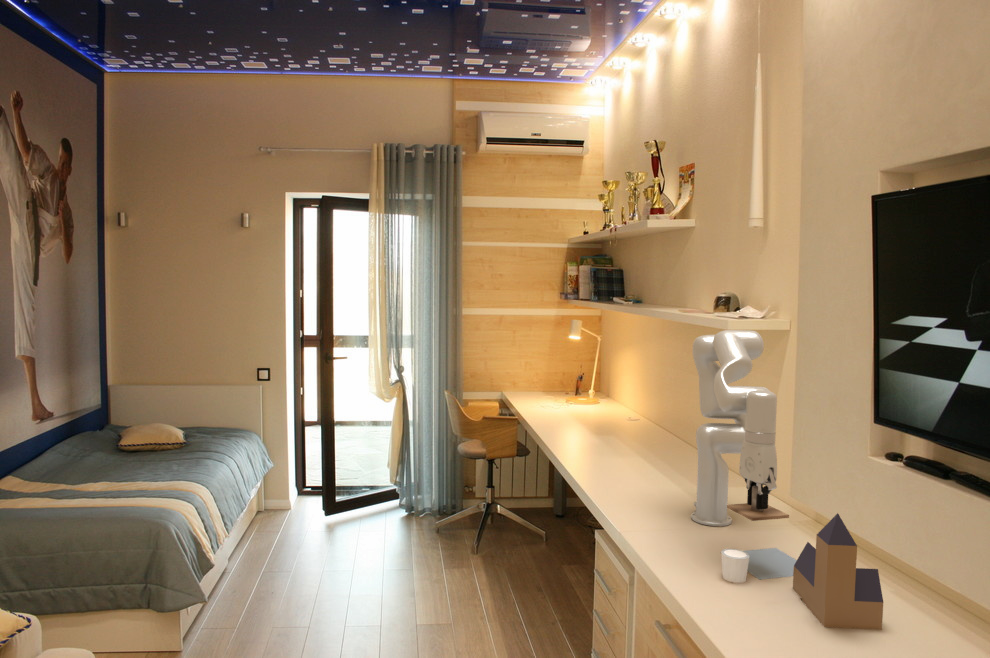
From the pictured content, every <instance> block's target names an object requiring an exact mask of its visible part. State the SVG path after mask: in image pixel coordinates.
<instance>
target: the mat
mask: <svg viewBox="0 0 990 658" xmlns="http://www.w3.org/2000/svg"><path fill="white" fill-rule="evenodd" d="M744 551H745V552H746V553H748V554H749V563H748V570H747V573H749V574H751V575H752V576H753V577H755V578H756V579H758V580H768V579H769V580H770V579H781V578H791V577H793V572H794V564H795V563H796V561H797V559H796V558H794V557H793V556H790V555H789V554H787V553H785V552H784V551H782V550H780V549H779V548H777V547H770V548H758V549H748V550H747V549H746V550H744Z"/></svg>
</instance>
